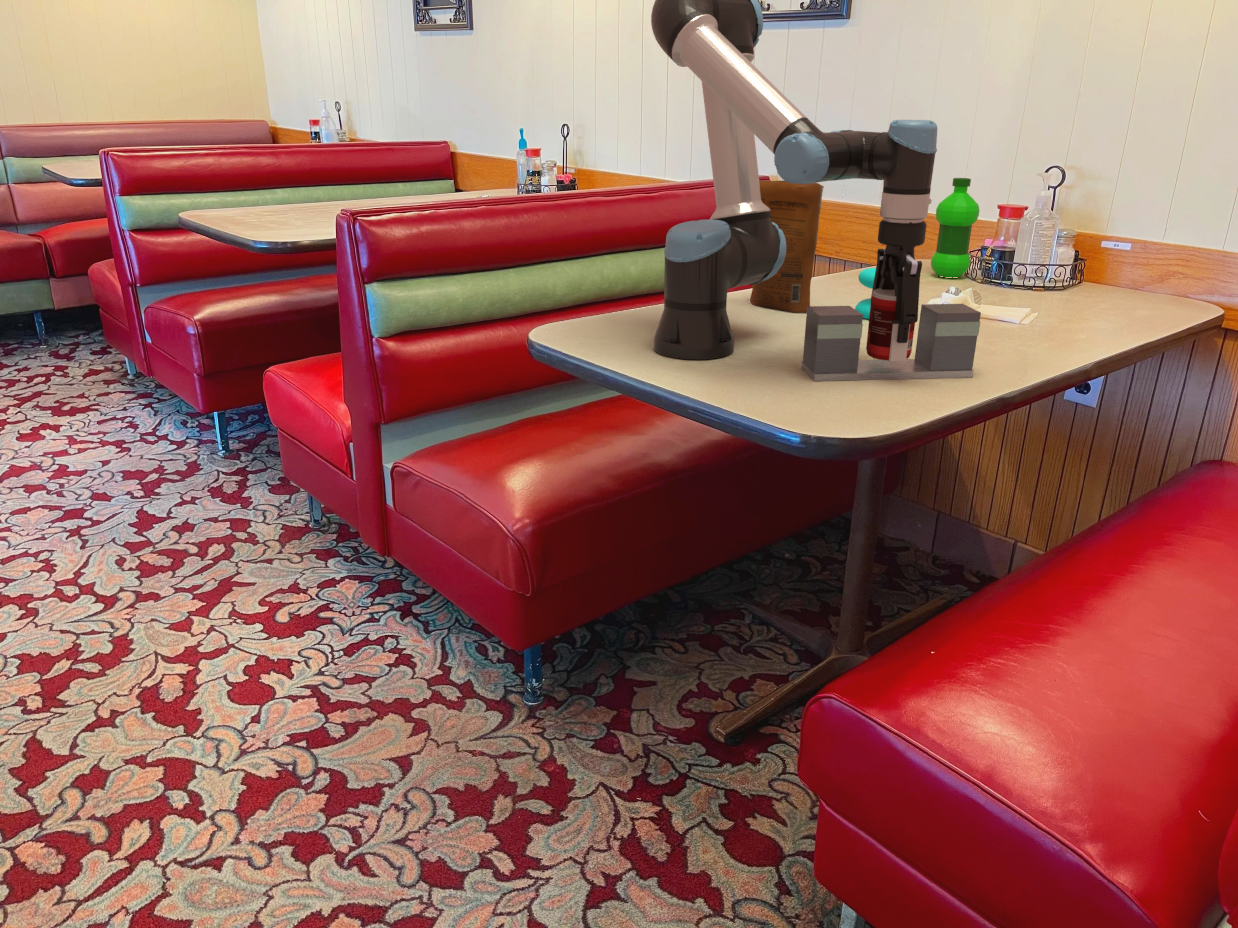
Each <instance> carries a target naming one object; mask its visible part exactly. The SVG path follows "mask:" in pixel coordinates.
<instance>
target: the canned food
mask: <svg viewBox="0 0 1238 928" xmlns="http://www.w3.org/2000/svg"><path fill="white" fill-rule="evenodd" d="M871 295H872V297H870V298H871V306H870V316H869V319H868V327H867V328H868V329H867V336H866V337H867V339H866V347H865V349H866V353H867V355H868V356H869V357H870V358H873V359H875V360H888V361H889V354H890V345H891V337H892V328H893V324H892V321H893V320H896V309H895V307H896V297H895V289H893V290H883V289H881V288H880V289H875V290H873V292H872V291H871ZM915 326H916V322H913V323H912V324H910V331H909V339H908V348H907V356H906V359H910V356H911V354H912V349H913V344H914V343H913V341H914V335H915V334H914V333H915Z"/></svg>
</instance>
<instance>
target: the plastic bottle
mask: <svg viewBox="0 0 1238 928" xmlns="http://www.w3.org/2000/svg"><path fill="white" fill-rule="evenodd" d="M971 181H972V179H971V178H967V177H954V178H953V179H952V186H951V187H953V192H952V193H951V194H949V195H948V196H946V197H945V198H944V199H943V200H942V201H940V202H939V203H938V205H937V207H936V210H935V219H936V220H937V222H938V223H939V228H938V235H937V243H936V251H935V252H934V254H933V256H932V258H931V260H930V266H931V269H932V271H933V272H934V273H935V274H936V275H937V276H938V275H939V276H943V277H952V278H953V277H959V278H960V277H962V276H963V275H964V274H965V273H966V272H967V271H968V270H969V268H970V267H971V257H970V255H969V249H970V248H969V247H970V242H971V233H972V229H973V228H972V227H973V225H974V224H975V223H976V222H977V221H978V218H979V216H980V215H979V214H980V205H979V203H977V201H976V200H975V199H974V198H973V197H972V196H971V195H970V194H969V193H968V188H969V187H971V183H972V182H971Z"/></svg>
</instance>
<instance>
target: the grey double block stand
mask: <svg viewBox="0 0 1238 928" xmlns="http://www.w3.org/2000/svg"><path fill="white" fill-rule="evenodd" d="M920 306H921V307H920V313H919V314H920V315H919V320H918V321H919V324H918V329H917V330H918V331H917V337H916V345H915V353H914V358H907V359H906V361H888V360H880V359H864V360H863V359H859V357H860V347H861V339H862V336H863V335H862V334H863V325H864V324H863V319H864V318H863V315H862V314H861V313H860V312H858V311H857V310H855V308H854V307H852V306H850V305H821V306H819V305H817V306H815V305H813V306H811V305H810V306H807V313H806V318H805V319H806V320H805V331H804V340H803V341H804V343H803V344H804V345H803V353H802V361H801V369H802V370H803V371H804V373H805V374H806V375H808V377H810V379H812V380H813V381H814V382H836V381H837V382H842V381H877V380H879V381H881V380H882V381H883V380H913V379H914V380H917V379H920V380H921V379H922V380H923V379H924V380H925V379H949V378H950V379H954V378H955V379H957V378H959V379H961V378H962V379H963V378H964V379H965V378H973V376H974V370H973V369H974V368H973V367H974V360H975V354H976V347H977V341H978V336H979V334H980V327H981V326H980V325H981V321H980V320H981V315H982V313H981V311H979V310H977V309H974V308H973V307H970V306H968V305H966V304H964V303H930V304H929V303H923V304H922V303H921V305H920Z"/></svg>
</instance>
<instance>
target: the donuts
mask: <svg viewBox="0 0 1238 928" xmlns="http://www.w3.org/2000/svg"><path fill="white" fill-rule="evenodd" d="M875 271H876V267H871V268H870V267H868V268H864V269H862V270H861V271H860V273H859V274H858V281H859V283H860V284H861V285H862V286H864V287H866V288H868V289H873V283H874V277H875ZM870 301H871V297H870V298H869V297H868V298H865V299H862V300H860V301H859V302H858V303H857V304H856V306H855V308H854V309H855V310H857V311H858V312H860V313H861V314H862V315H863V319H865V320H869V316H870V306H871V302H870Z"/></svg>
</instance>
